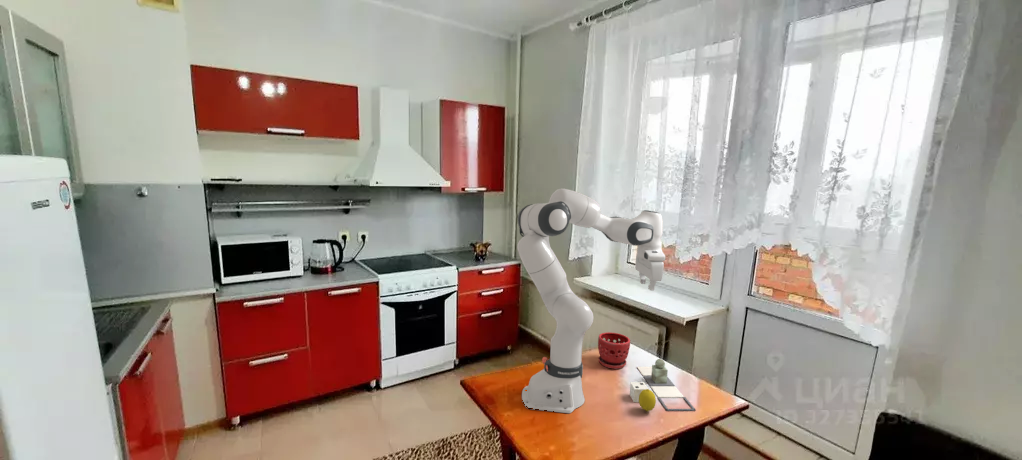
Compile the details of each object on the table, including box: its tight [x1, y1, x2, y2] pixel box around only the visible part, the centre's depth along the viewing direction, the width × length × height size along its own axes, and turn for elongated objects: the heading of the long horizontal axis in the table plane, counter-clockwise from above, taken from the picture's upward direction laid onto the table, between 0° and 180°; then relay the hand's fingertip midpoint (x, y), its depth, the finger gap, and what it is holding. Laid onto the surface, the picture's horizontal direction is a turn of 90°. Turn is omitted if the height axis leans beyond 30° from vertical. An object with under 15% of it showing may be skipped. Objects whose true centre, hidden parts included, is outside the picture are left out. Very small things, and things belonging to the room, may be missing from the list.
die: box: [629, 381, 649, 403], centre depth 147 cm, size 5×5×5 cm
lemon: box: [638, 388, 657, 412], centre depth 139 cm, size 6×6×8 cm
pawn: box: [651, 358, 668, 384], centre depth 159 cm, size 4×4×9 cm
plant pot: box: [597, 331, 631, 370], centre depth 173 cm, size 13×13×12 cm
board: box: [636, 366, 696, 412], centre depth 156 cm, size 10×32×1 cm, turn 1°
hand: (646, 286), depth 160 cm, fingers open, 8 cm apart
